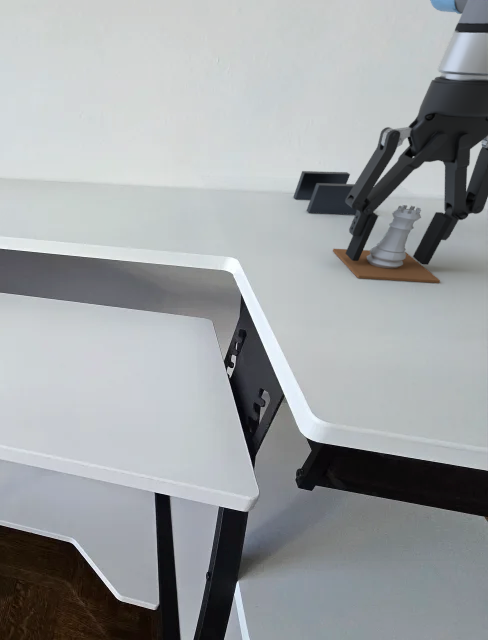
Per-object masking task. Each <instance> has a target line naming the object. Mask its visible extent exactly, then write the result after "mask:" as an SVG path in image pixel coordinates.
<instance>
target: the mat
mask: <svg viewBox="0 0 488 640" xmlns="http://www.w3.org/2000/svg"><path fill="white" fill-rule="evenodd" d="M370 250H371V249H370ZM370 250H369V249H363V251H362V254H361V256H360V258H359V260H358V261H352V260H351V259H350V258H349V257H348V256H347V255H346V254H345V253H346V251H347V248H333V249H332V252H333V253H334V254H335V256H337V258H338V259H339V260H340V261H341V262H342V263H343V264H344V265H345V266H346V268H348V270H349V271H351V273H352V274H353V275H354V276H355V277H356V278H357V279H363V280H365V279H366V280H380V281H381V280H383V281H397V282H415V283H428V284H429V283H430V284H431V283H432V284H439V283H440V282H441V280H440V279H439V278H438V277H437V276H435V275H434V274H433V273H432V272H430V271H429V270H428V269H427V268H426V267H424V266H423V264H421V263H420V262H418V261H417V260H416V259H415V258H413V256H411V255H410V254H409V253H407V252H406V251H404V252H405V253H406V258H405V259H404V260H402V262H403V265H401V266H400V267H398V268H394V269H387V268H381V267H377V266H374V265H372V264H370V263H369V262H368V260H367V256H368V255H370Z"/></svg>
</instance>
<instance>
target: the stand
mask: <svg viewBox="0 0 488 640" xmlns="http://www.w3.org/2000/svg"><path fill="white" fill-rule="evenodd" d="M350 176H351V173H349V172H348V171H318V170H317V171H313V170H302V171H301V173H300V176H299V179H298V182H297V186H296V188H295V192H294V193H293V198H294V200H306V201H309V203H308V205H307V207H306V212H307V213H308V214H321V215H346V216H348V215H349V216H350V215H351V216H355V214H356V212H357V210H356V209H353V208H351V207H350V206H349V205H348V204H347V203H346V202H345V200H346V198H347V196H348V194H349V193H350V191H351V189H352V188H353V186H354V184H355V183H348V181H349V178H350Z"/></svg>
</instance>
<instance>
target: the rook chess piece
mask: <svg viewBox="0 0 488 640" xmlns="http://www.w3.org/2000/svg"><path fill="white" fill-rule="evenodd" d="M407 207H408V205H407V204H402V205H398V207H397V208H396V210H394V211H392V213H391V214H392V217H393V219H392V221H391V222H389V224H388V225H389V227H388V229H387V231H386V233H385V234H384V235H383V238H381V240H380V241H379V242H378V243H376V245H375V246H373V247H372V248H371V249H370V255H368V256H367V260H368V262H369V263H370V264H372V265H374V266H377V267H381V268H387V269H394V268H398V267H400V266H401V265H403V262H402V260H404V259H405V258H406V253H407V252H406V250H407V249H406V243H407V241H408V237H409V235H410V233H411V231H412V230H413V229H414V224H415V222H416V221H418V220H420V219H422V215H421V211H422V209H421V208H420V207H416V206H414V205H410V207H409V208H407ZM405 252H406V253H405Z"/></svg>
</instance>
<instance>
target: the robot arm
mask: <svg viewBox="0 0 488 640" xmlns="http://www.w3.org/2000/svg"><path fill="white" fill-rule="evenodd" d="M429 1H430V4H431V6H432V7H433V8H434V9H435V10H436V11H440V12H444V13H445V12H446V13H456V14H457V15H460V17H459V20H458V22H457V24H456V25H455V28H454V31H453V32H452V35H451V37H450V39H449V41H448V44H447V45H446V48H445V50H444V52H443V54H442V57H441V59H440V61H439V63H438V66H437V68H436V69H437V71H438V73H440V75H439V76H436V77H434V79H432V80H431V81H430V84H429V86H428V88H427V90H426V92H425V95H424V97H423V99H422V101H421V103H420V106H419V110H418V114H417V115H416V117H415V119H414V120H413V121H412V122H411V123H410V124H409V125H408V126H406V127H405V126H404V127H399V128H398V127H397V128H392V127H390V126H387V127H383V128H382V130H381V131H380V134H379V139H378V143H377V146H376V148H375V150H374V152H373V153H372V155H371V157H370V158H369V160H368V161H367V163H366V164H365V166H364V168H363V169H362V170H361V173H360V175H359V176H358V178H357V180H356V181H355V183H353V184H354V186H353V188H352V189H351V191H350V193H349V194H348V196H347V198H346V200H345V202H346V203H347V204H348V205H349V206H350V207H351V208H353V209H356V210H357V212H356V214H355V215H354V217H353V219H352V221H351V224H350V226H349V230H348V232H349V234H350V235H352V237H351V239H350V241H349V244H348V246H347V248H346V249H347V251H346V253H345V254H346V255H347V256H348V257H349V258H350V259H351V260H352V261H358V260H359V258H360V256H361V254H362V251H363V250H365V246H366V245H367V242H368V240H369V238H370V236H371V234H372V231H373V229H374V227H375V224H376V222H377V221H378V218H379V215H378V214H377V213H375V211H376V210H377V209H378V208H379V207H380V206H381V205H382V204H383V203H384V202H385V201H386V200H387V198H389V196H391V195H392V194H393V192H394V191H396V189H397V188H398V187H399V186H401V184H402V183H403V182H404V181H405V180H406V179H407V178H408V177H409V176H410V174H412V173H413V172H414V171H415V170H417V169H419V168H420V167H422V165H423V164H424V163H433V162H437V161H439V162H442V163H443V165H444V198H443V199H444V202H443V204H444V205H443V208H444V209H443V210H444V212H439V211H436V212H435V213H434V214H433V217H432V218H431V221H430V222H429V224H428V227H427V228H426V230H425V232H424V234H423V236H422V238H421V240H420V242H419V244H418V246H417V248H416V250H415V251H414V254H413V256H412V258H413V259H415V260H416V261H417V262H418V263H419V264H421V265H422V266H423V265H425V266H427V265H429V264H430V262H431V260H432V259H433V256H434V255H435V252H436V251H437V249H438V247H439V245H440V244H441V241H447V240H448V239H449V238H450V237H451V235H452V233H453V231H454V230H455V228H456V225H458V222H459V221H463V220H466V219H467V218H468V217H469V215H471V214H474V215H478V214H480V213H481V212H483V211H484V209H485V207H486V203H487V200H488V0H429ZM406 139H407V141H408V147H407V148H406V149H405V150H404V151H403V152H402V153H401V154H400V155H399V156H398V158H397V161H396V162H395V163H394V164H393V165H392V167H390V168H389V169H388V170H387V172H386V173H384V172H385V170H386V168H387V167H388V165H389V163H390V162H391V160H392V159H393V157H394V155H395V153H396V151H397V148H398V147H400V146H402V145H403V143H404V141H405V140H406ZM480 143H481V148H480V150H479V153H478V155H477V157H476V160H475V164H474V167H473V170H472V173H471V177H470V180H469V182H468V167H469V166H470V163H471V149H473V148H474V147H475V146H477V145H478V144H480ZM383 173H384V175H383V176H382V174H383ZM381 176H382V177H381ZM467 183H468V185H467Z"/></svg>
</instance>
